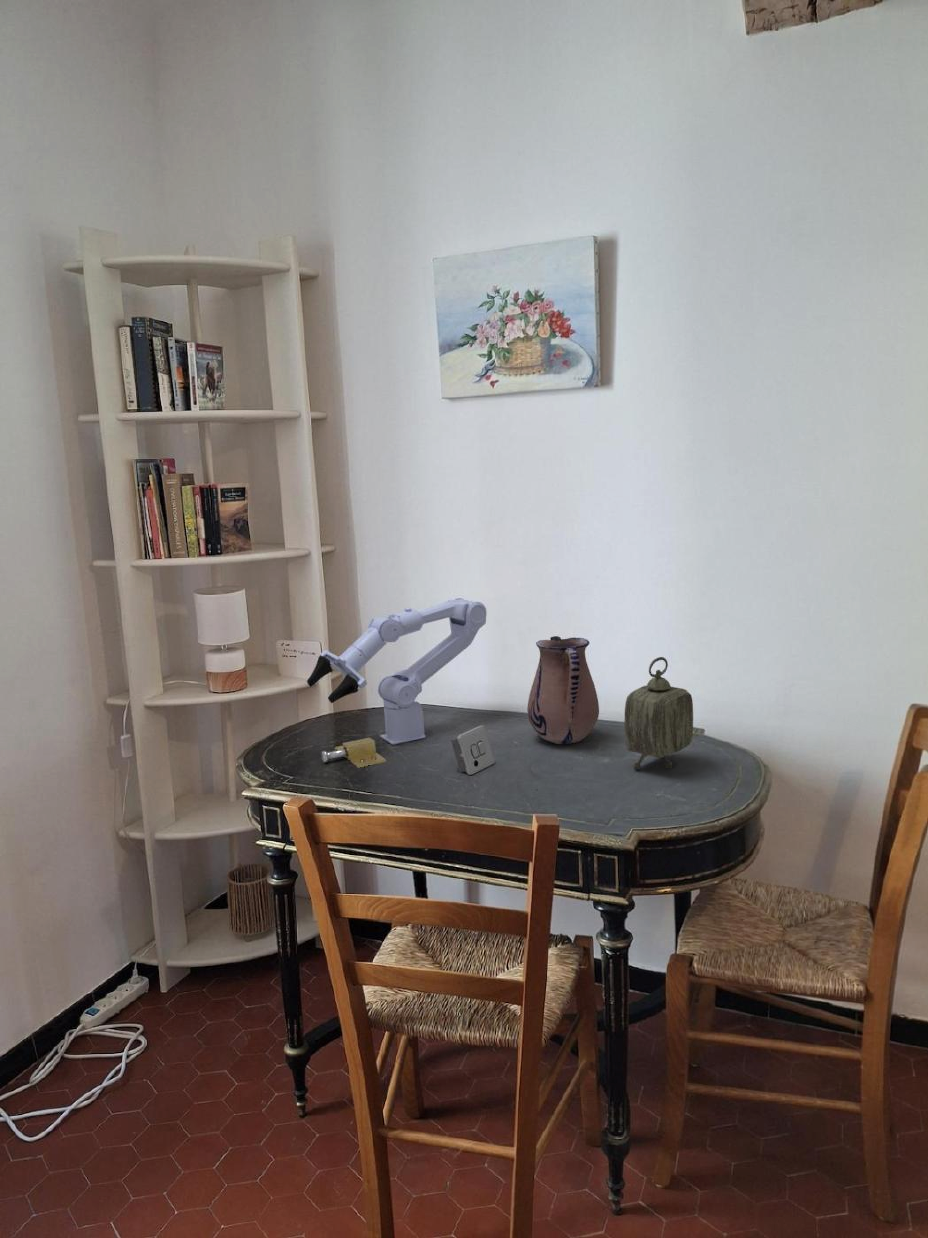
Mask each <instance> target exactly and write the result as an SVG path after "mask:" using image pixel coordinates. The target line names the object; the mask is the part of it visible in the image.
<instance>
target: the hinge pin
mask: <svg viewBox="0 0 928 1238" xmlns="http://www.w3.org/2000/svg"><path fill="white" fill-rule="evenodd" d="M346 755H348V751H347V749H343V750H338V751H336V750H333V751H329V752H327V751H326V750H325V751H324V750H323V751H321V759H322V761H323V763H327V762H329V760H331V759H337V758H341V757H344V756H346Z"/></svg>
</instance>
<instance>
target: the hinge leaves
mask: <svg viewBox="0 0 928 1238" xmlns="http://www.w3.org/2000/svg"><path fill="white" fill-rule="evenodd" d="M376 748H377V747H376V741H375V740H374V739H373V738H371V737H366V738H365V737H364V738H361V739H356V740H351V741H347V742H342V745H340V746H339V745H338V746H335V747H334V750H335V749H336V750H337V751H338V750H343V749H347V751H348V755H346V756H343V757H344V758H345V757H346V758H347V760H348V761H349V760H350V761H351V762H350V761H349V762H350V763H351V764H353V765H354V766H355V765H356V767H357V768H358V769H360V767H361V768H364V766H365V767H369V766H368V765H370V766H374V765H379V764H382V763H387V760H386V758H384V757H383V756H382V755H380V754H379V753H377V749H376ZM336 750H335V751H336ZM346 758H345V759H346Z"/></svg>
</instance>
